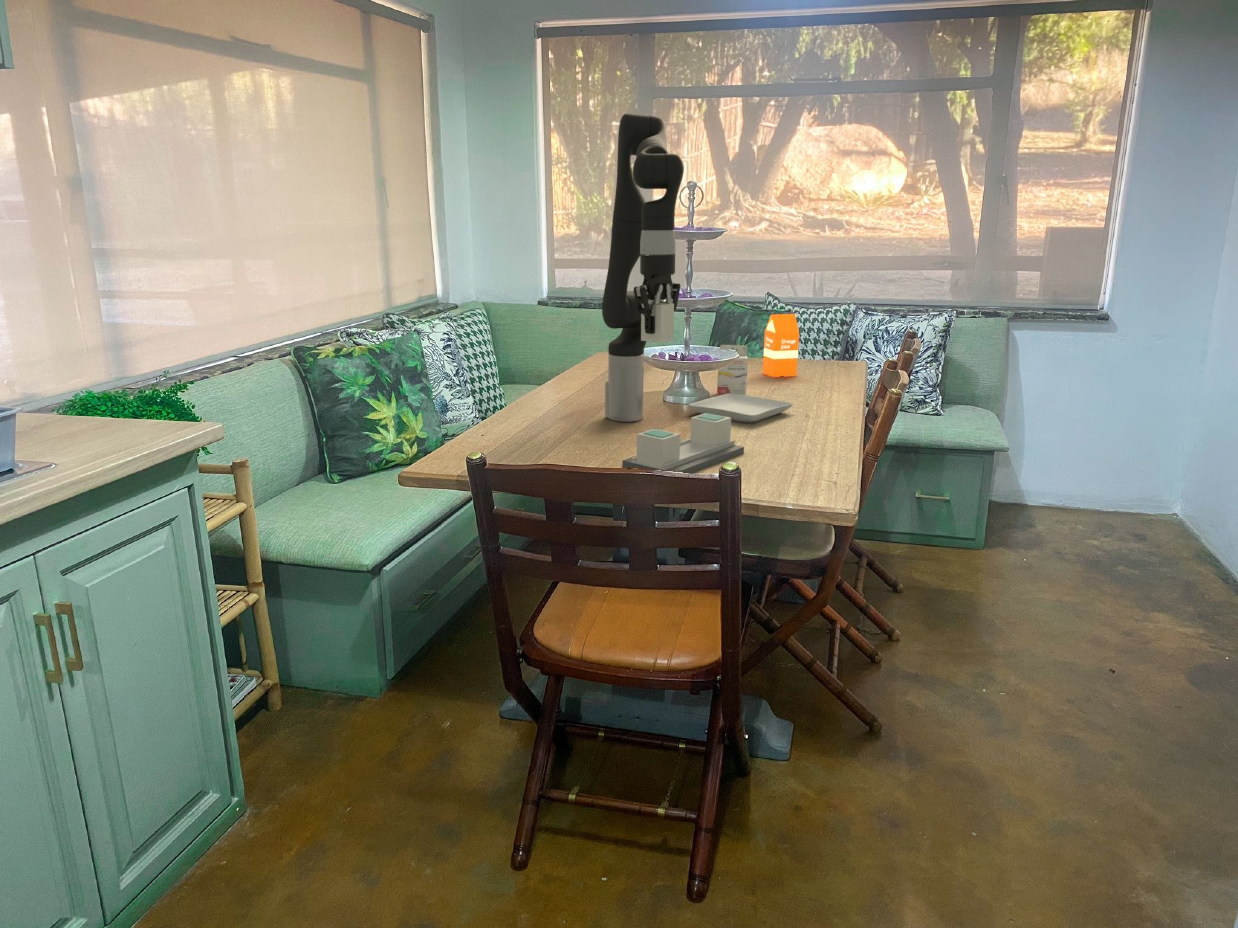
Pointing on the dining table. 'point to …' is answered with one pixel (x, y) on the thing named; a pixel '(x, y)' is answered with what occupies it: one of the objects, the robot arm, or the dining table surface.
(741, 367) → the ink cartridge box
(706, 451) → the board
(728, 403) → the salad plate
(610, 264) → the robot arm
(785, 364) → the orange juice
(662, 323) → the loose module
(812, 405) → the dining table surface
